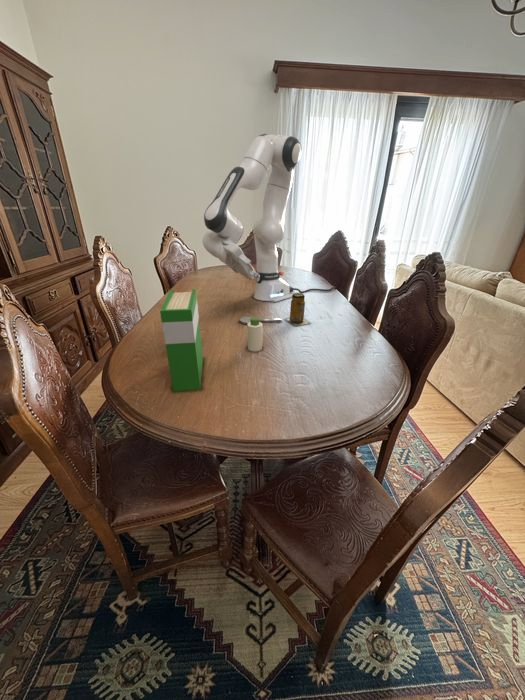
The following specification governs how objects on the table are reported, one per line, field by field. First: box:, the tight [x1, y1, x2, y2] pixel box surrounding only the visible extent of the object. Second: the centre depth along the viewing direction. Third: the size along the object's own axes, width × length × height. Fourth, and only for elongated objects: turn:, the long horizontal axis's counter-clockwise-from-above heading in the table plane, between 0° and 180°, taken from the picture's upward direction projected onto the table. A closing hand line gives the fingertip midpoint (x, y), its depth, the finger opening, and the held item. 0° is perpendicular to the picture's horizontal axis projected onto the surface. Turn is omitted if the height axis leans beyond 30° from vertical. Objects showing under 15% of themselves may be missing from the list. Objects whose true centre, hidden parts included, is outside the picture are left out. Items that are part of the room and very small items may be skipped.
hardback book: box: [159, 288, 204, 392], centre depth 83 cm, size 18×7×24 cm, turn 8°
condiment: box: [285, 292, 310, 326], centre depth 124 cm, size 7×8×12 cm
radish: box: [246, 316, 263, 352], centre depth 101 cm, size 5×5×12 cm
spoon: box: [239, 316, 283, 325], centre depth 125 cm, size 18×6×1 cm, turn 90°
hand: (254, 270), depth 111 cm, fingers open, 8 cm apart
